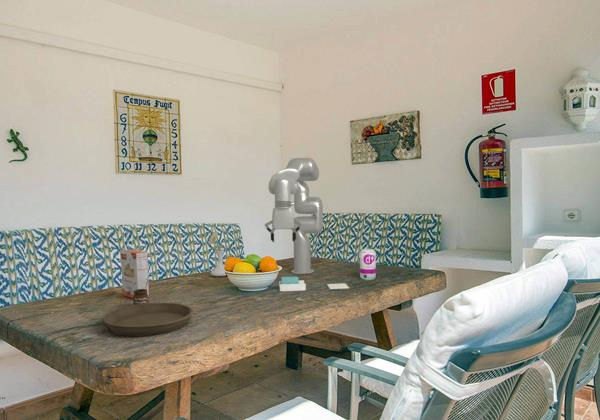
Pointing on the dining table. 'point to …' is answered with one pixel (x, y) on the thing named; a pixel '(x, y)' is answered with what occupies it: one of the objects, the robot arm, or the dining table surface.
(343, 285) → the tile
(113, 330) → the plant saucer
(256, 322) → the dining table surface
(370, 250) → the supplement can
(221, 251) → the flower in vase
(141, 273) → the cracker box
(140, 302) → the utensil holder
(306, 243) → the robot arm
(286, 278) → the teal block
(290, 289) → the channel
